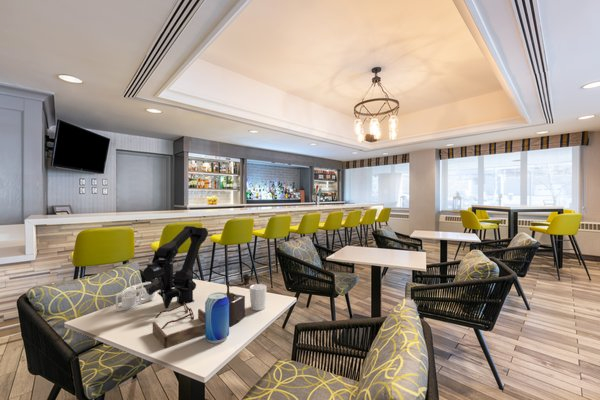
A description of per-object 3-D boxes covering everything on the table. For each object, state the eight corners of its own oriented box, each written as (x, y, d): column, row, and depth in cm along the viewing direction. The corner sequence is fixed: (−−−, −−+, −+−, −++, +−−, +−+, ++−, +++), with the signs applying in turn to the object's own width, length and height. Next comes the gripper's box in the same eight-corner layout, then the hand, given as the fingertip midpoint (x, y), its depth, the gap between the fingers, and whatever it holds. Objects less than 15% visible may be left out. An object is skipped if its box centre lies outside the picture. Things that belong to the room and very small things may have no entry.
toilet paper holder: (123, 312, 123) (123, 296, 123) (108, 308, 127) (108, 293, 127) (161, 297, 141) (161, 283, 141) (147, 294, 146) (147, 281, 146)
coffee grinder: (231, 327, 108) (231, 283, 108) (210, 322, 113) (210, 279, 113) (253, 312, 123) (253, 273, 123) (233, 308, 127) (233, 270, 127)
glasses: (194, 321, 115) (194, 309, 115) (160, 330, 107) (160, 318, 107) (185, 311, 125) (185, 300, 125) (154, 319, 117) (154, 307, 117)
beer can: (216, 347, 94) (215, 301, 94) (200, 340, 99) (200, 296, 99) (233, 336, 101) (233, 294, 101) (218, 330, 106) (218, 290, 106)
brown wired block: (199, 318, 117) (199, 308, 117) (215, 330, 106) (215, 320, 106) (152, 332, 104) (152, 322, 104) (164, 348, 94) (164, 336, 94)
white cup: (246, 309, 126) (246, 288, 126) (255, 303, 133) (255, 283, 133) (261, 312, 123) (261, 290, 123) (269, 305, 130) (269, 285, 130)
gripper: (141, 273, 125) (141, 306, 125) (152, 282, 111) (152, 320, 112) (167, 268, 133) (167, 300, 133) (180, 277, 119) (180, 312, 119)
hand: (166, 308), depth 124 cm, fingers closed
